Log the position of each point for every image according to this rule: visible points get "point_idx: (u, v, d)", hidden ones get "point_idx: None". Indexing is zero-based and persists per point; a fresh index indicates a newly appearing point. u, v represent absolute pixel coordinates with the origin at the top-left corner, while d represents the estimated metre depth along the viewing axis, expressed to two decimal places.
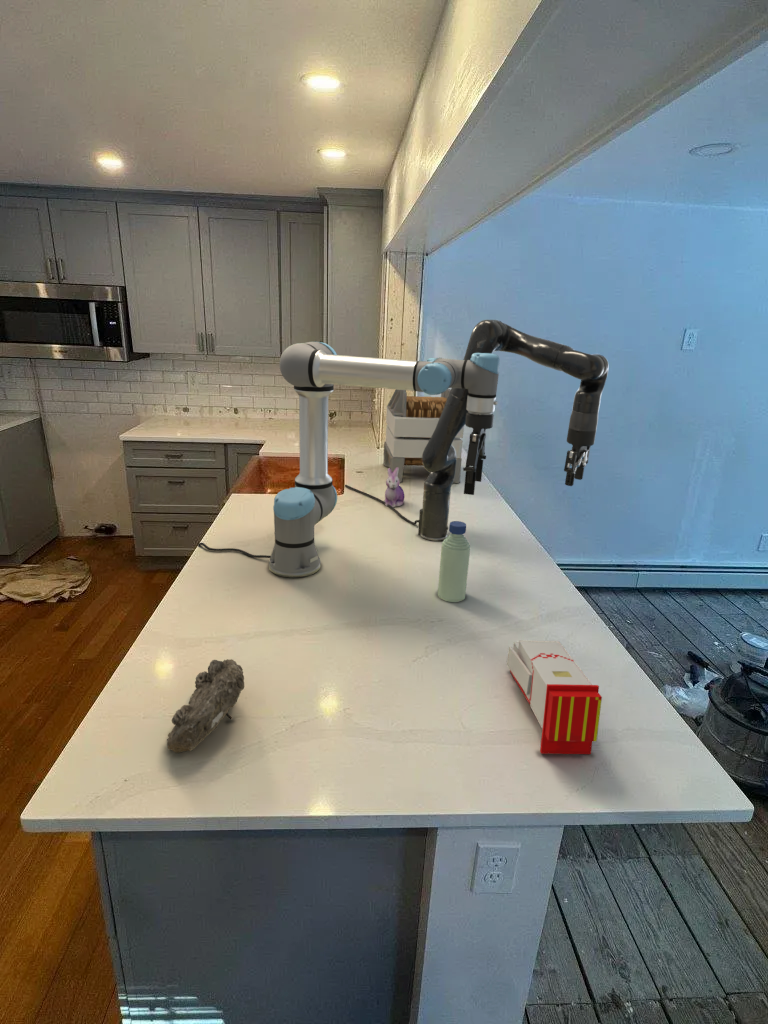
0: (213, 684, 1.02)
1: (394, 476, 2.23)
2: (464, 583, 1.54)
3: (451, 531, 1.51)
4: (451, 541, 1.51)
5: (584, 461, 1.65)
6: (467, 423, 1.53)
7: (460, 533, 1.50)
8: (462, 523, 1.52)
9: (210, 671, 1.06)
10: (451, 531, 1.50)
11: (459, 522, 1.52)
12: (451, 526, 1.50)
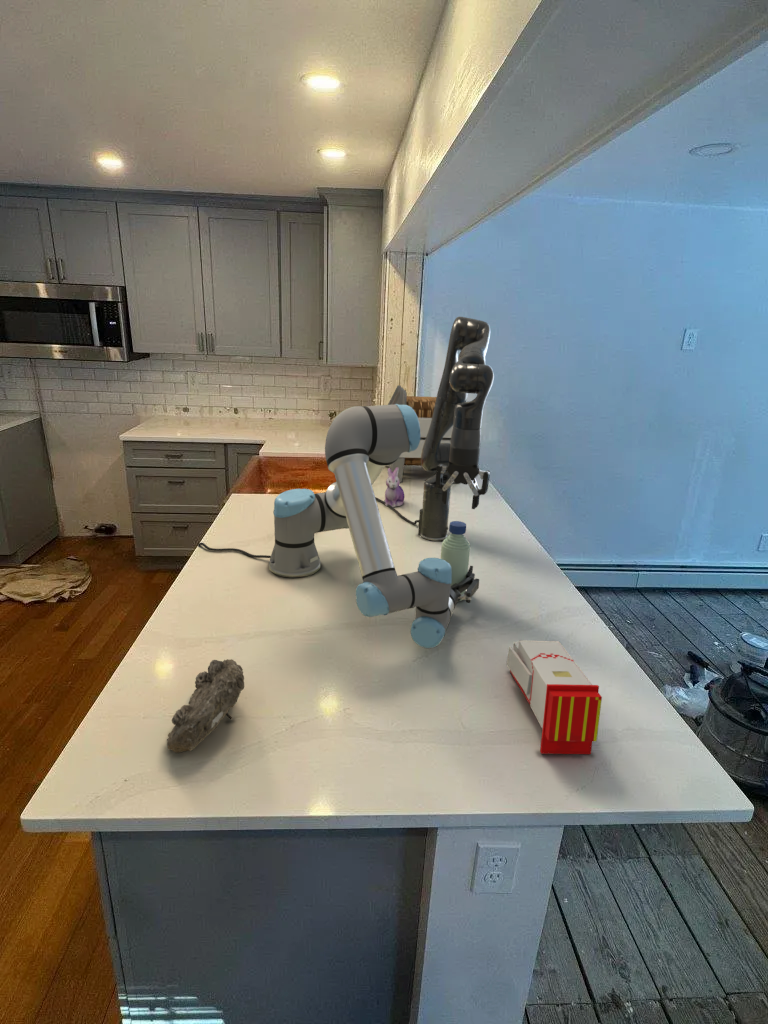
0: (213, 684, 1.02)
1: (394, 476, 2.23)
2: None
3: (451, 531, 1.51)
4: (451, 541, 1.51)
5: None
6: None
7: (460, 533, 1.50)
8: (462, 523, 1.52)
9: (210, 671, 1.06)
10: (451, 531, 1.50)
11: (459, 522, 1.52)
12: (451, 526, 1.50)
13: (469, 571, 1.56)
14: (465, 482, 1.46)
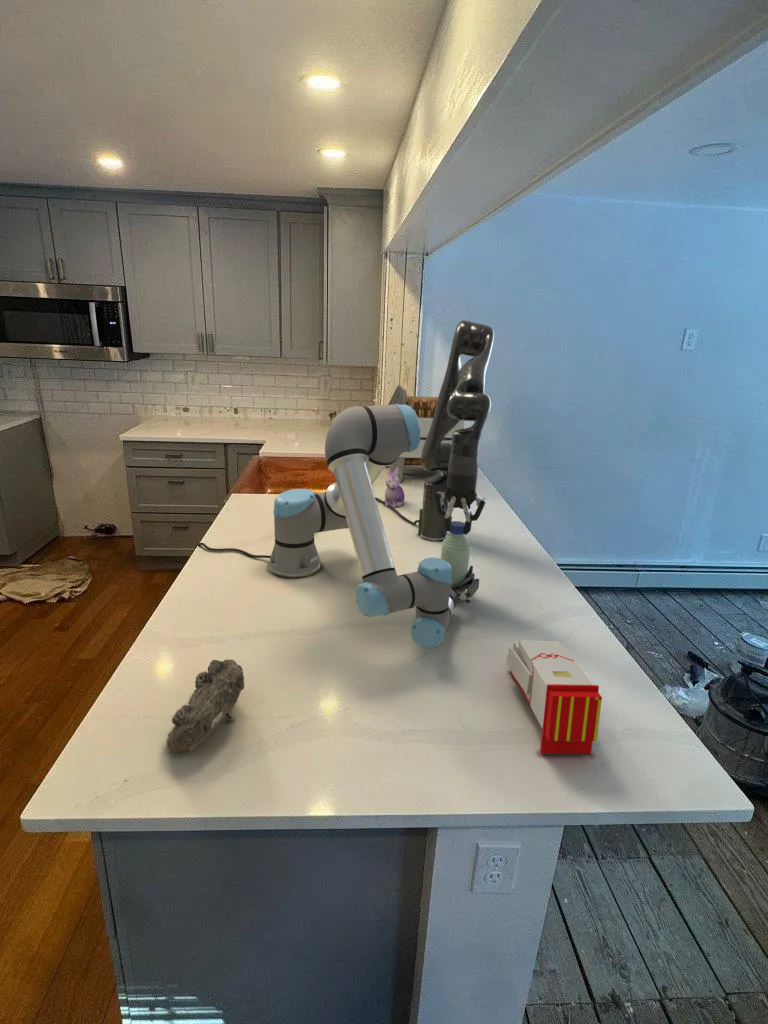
0: (213, 684, 1.02)
1: (394, 476, 2.23)
2: None
3: (451, 531, 1.51)
4: (451, 541, 1.51)
5: None
6: None
7: (460, 533, 1.50)
8: (462, 523, 1.52)
9: (210, 671, 1.06)
10: (451, 531, 1.50)
11: (459, 522, 1.52)
12: (451, 526, 1.50)
13: (469, 571, 1.56)
14: (463, 507, 1.48)
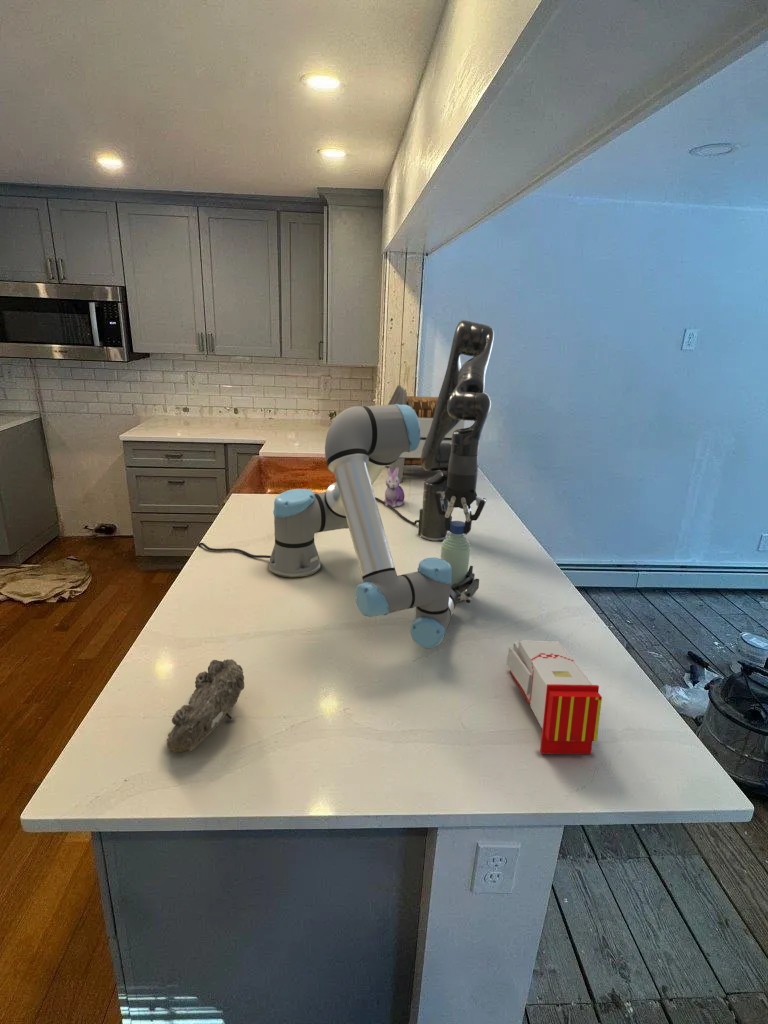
0: (213, 684, 1.02)
1: (394, 476, 2.23)
2: None
3: (463, 532, 1.50)
4: (451, 541, 1.51)
5: None
6: None
7: None
8: (455, 521, 1.52)
9: (210, 671, 1.06)
10: None
11: (454, 522, 1.52)
12: (463, 527, 1.50)
13: (469, 571, 1.56)
14: (463, 507, 1.48)
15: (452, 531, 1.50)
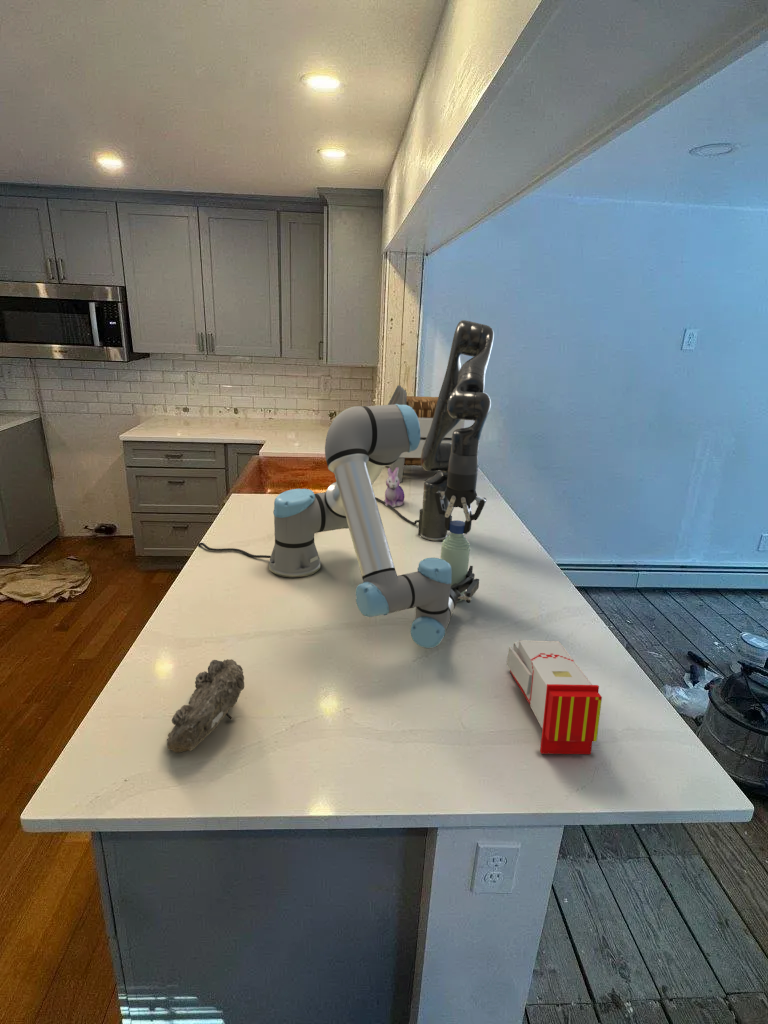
0: (213, 684, 1.02)
1: (394, 476, 2.23)
2: None
3: None
4: (451, 541, 1.51)
5: None
6: None
7: None
8: (454, 524, 1.50)
9: (210, 671, 1.06)
10: None
11: (457, 524, 1.50)
12: None
13: (469, 571, 1.56)
14: (463, 506, 1.48)
15: None
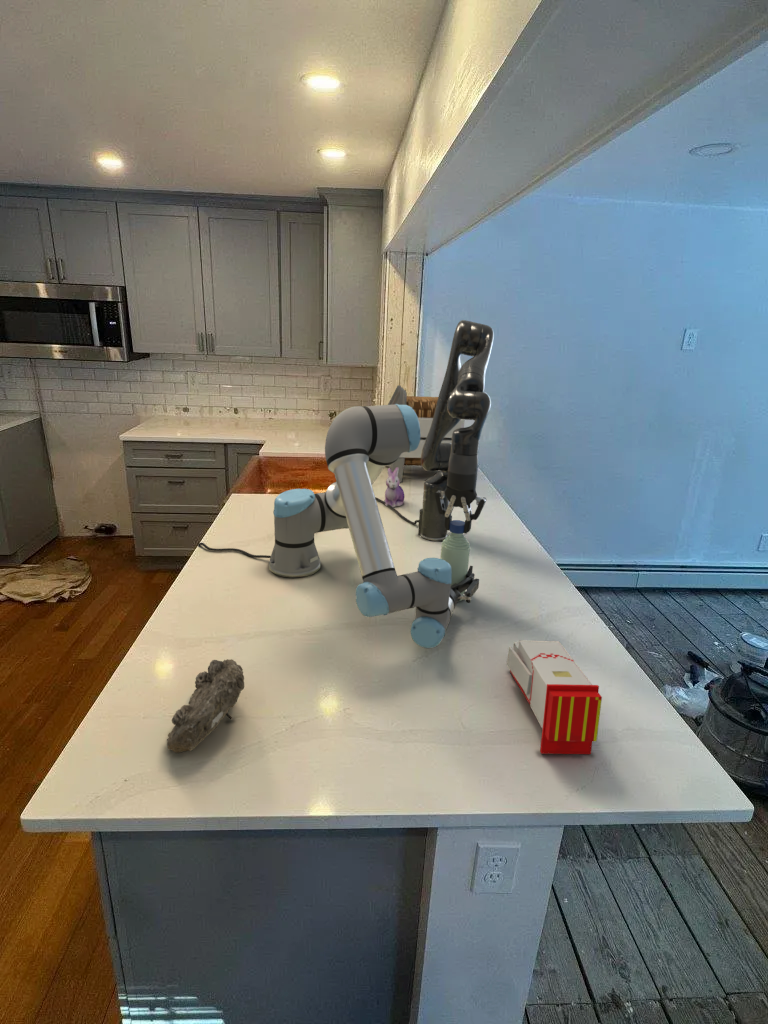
0: (213, 684, 1.02)
1: (394, 476, 2.23)
2: None
3: None
4: (451, 541, 1.51)
5: None
6: None
7: (452, 531, 1.50)
8: (462, 524, 1.50)
9: (210, 671, 1.06)
10: None
11: (462, 523, 1.51)
12: None
13: (469, 571, 1.56)
14: (462, 506, 1.48)
15: None
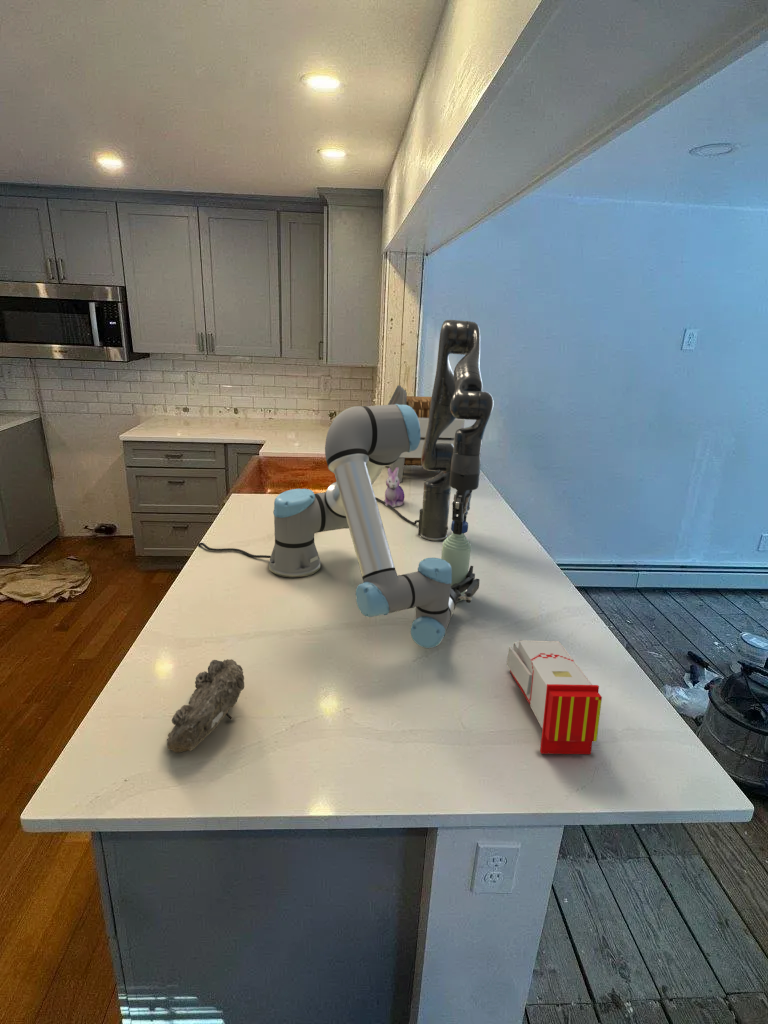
0: (213, 684, 1.02)
1: (394, 476, 2.23)
2: None
3: None
4: (452, 541, 1.51)
5: None
6: None
7: (466, 531, 1.51)
8: None
9: (210, 671, 1.06)
10: None
11: None
12: None
13: (469, 571, 1.56)
14: None
15: None
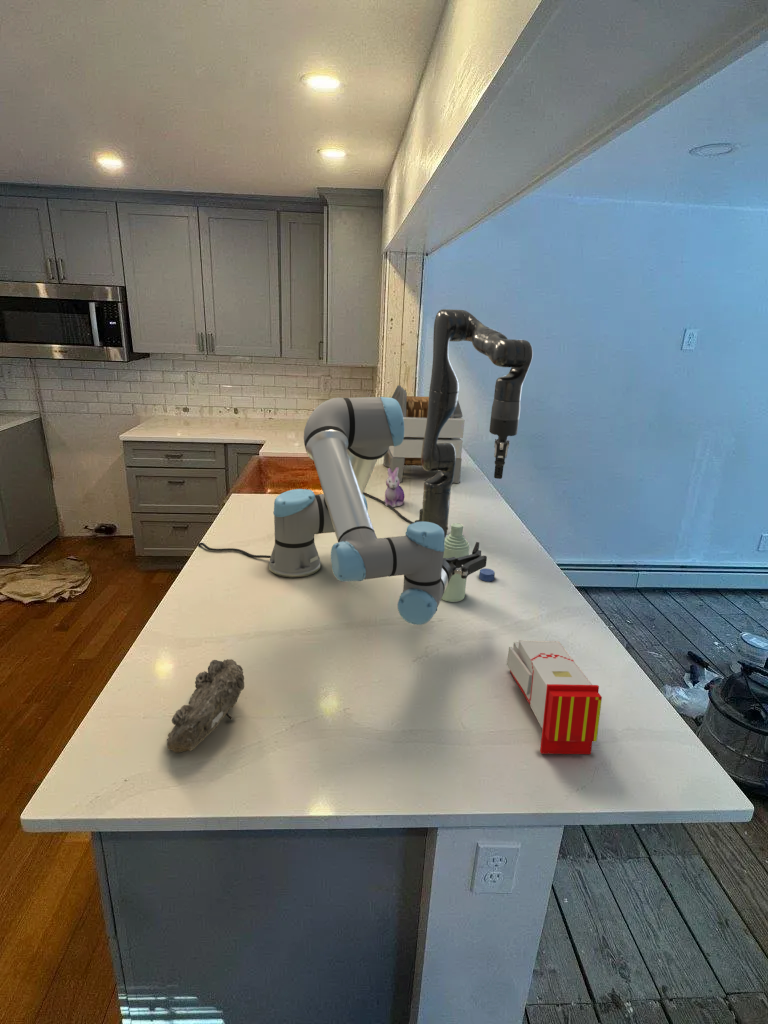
0: (213, 684, 1.02)
1: (394, 476, 2.23)
2: (463, 583, 1.54)
3: (485, 579, 1.67)
4: (450, 541, 1.51)
5: None
6: None
7: (493, 579, 1.68)
8: (488, 569, 1.70)
9: (210, 671, 1.06)
10: (486, 579, 1.67)
11: (486, 569, 1.70)
12: (485, 575, 1.67)
13: (475, 548, 1.37)
14: None
15: (479, 575, 1.70)
